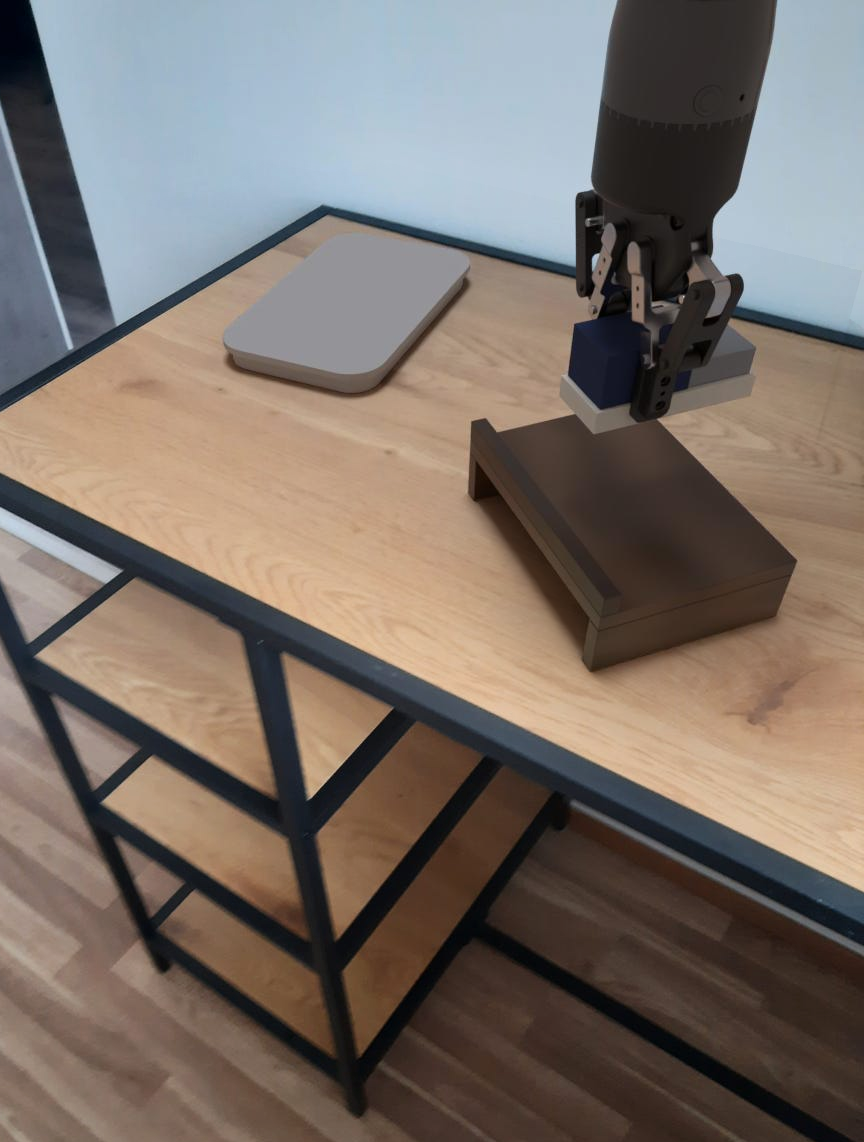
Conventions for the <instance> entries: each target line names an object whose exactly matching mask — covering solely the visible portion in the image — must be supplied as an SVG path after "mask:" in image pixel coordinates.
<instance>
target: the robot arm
mask: <svg viewBox="0 0 864 1142" xmlns="http://www.w3.org/2000/svg"><path fill="white" fill-rule="evenodd" d="M777 7H778V0H616V4H615V8H614V11H613V15H612V19H611V24H610V28H609V31H608V39H607V44H606V53H605V61H604V69H603V77H602V84H601V93H600V94H601V95H600V100H599V107H598V117H597V126H596V132H595V133H596V134H595V141H594V149H593V157H592V163H591V173H590V181H591V186H592V188H593V189H589V190H584V191H579V192H577V194H576V195H575V200H574V206H575V207H574V213H575V214H574V215H575V216H574V218H575V219H574V220H575V225H574V227H575V290H576V294H577V296H578V297H579V298H580V299H583V298H588V301H589V303H588V305H587V306H588V307H587V308H588V315H589V317H590V320H593V319H598V318H603V317H607V316H612V315H617V314H621V313H626V312H630V311H632V322H633V324H634V325H635V326H638V327H639V329H640V362H641V363H638V366H637V371H636V377H635V382H634V388H633V393H632V398H631V404H630V410H629V415H630V416H631V417H632V418H633V419H634V420H635V421H636V422H637V423H642V422H646V421H650V420H654V419H657V420H659V419H662V418H661V417H662V416H664V415H665V414H666V413H667V412H668V410H669V409H670V404H671V399H672V395H673V394H672V393H673V391H674V386H675V382H676V377H677V373H679V372H683V371H688V370H692V369H696V368H701V367H705V366H707V364H708V362H709V360H710V358H711V356H712V354H713V352H714V350H715V348H716V346H717V344H718V342H719V340H720V338H721V336H722V334H723V332H724V330H725V328H726V326H727V324H728V325H729V322H730V320H731V318H732V316H733V314H734V311H735V310H736V308H737V306H738V304H739V302H740V300H741V298H742V296H743V293H744V291H745V281H744V279H743V277H742V275H741V274H740V273H732V274H727V275H723V273H722V272H721V271H720V270H719V268H718V266H717V265H716V264H715V262H713V260H712V257H713V253H714V237H713V236H714V233H713V232H714V230H713V229H714V220H715V217H716V216H717V215H718V213H719V212H720V210H721V209H722V208H723V207H724V206H725V205H726V204H727V203H728V202H729V201H730V200H731V199H732V198H734V196H735V194H736V192H737V191H738V189H739V186H740V181H741V177H742V173H743V168H744V164H745V160H746V156H747V151H748V147H749V143H750V139H751V134H752V131H753V127H754V122H755V119H756V118H755V117H756V115H757V110H758V105H759V102H760V97H761V94H762V93H761V92H762V89H763V86H764V85H763V84H764V80H765V76H766V72H767V68H768V63H769V59H770V54H771V51H772V44H773V40H774V34H775V33H774V32H775V26H776V17H777ZM596 255H598V257H597V260H596V263H595V266H594V269H593V259H594V256H596ZM674 298H676V300H675V301H674V303H672V304H670V305H663V306H664V307H659V308H655V309H652V307H653V303H656V302H662V301H667V300H670V299H674ZM668 324H670V333H669V336H668V338H667V340H666V343H665V344H662V345H659V329H660V328H661V327H662V326H664V325H668ZM691 344H693V345H691ZM658 418H659V419H658Z"/></svg>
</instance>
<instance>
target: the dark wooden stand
mask: <svg viewBox="0 0 864 1142" xmlns="http://www.w3.org/2000/svg"><path fill="white" fill-rule="evenodd" d="M469 438H470V441H469V443H470V444H469V446H470V447H469V459H468V460H469V461H468V481H467V482H468V483H467V493H468V495H469V496H470V497H471V499H472V500H473V501H474V502H475V501H478V500H483V499H486V498H491V497H494V496H499V495H500V496H501V497H502V498H503V500H504V501H505V502H506V504H507V505H508V507H509V508H510V509H511V511H512V512H513V513H514V515H515V517H516V519H518V521H519V522H520V523H521V525H522V526H523V528H524V529H525V530H526V532H527V533H528V535H529V536H530V538H531V539H532V540H533V542H534V543H535V545H536V546H537V547H538V549H539V550H540V551H541V553H542V554H543V555H544V557H545V558H546V559H547V561H548V563H549V564H550V565H551V567H552V568H553V569H554V571H555V572H556V573H557V575H558V576H559V578H560V580H562V582H563V584H564V585H565V586H566V588H567V589H568V591H569V592H570V593H571V595H572V596H573V598H574V599H575V600H576V601H577V603H578V604H579V606H580V607H581V608H582V610H583V611H584V613H585V614H586V615H587V617H588V618H589V620H588V625H587V629H586V630H587V631H586V635H585V641H584V645H583V651H582V657H581V660H582V661H583V663H584V664H585V666H586V668H587V669H588V670H589V672H593V671H597V670H600V669H603V668H607V667H610V666H614V665H617V664H620V663H624V662H627V661H630V660H633V659H634V660H635V659H637V658H640V657H644V656H647V655H650V654H654V653H656V652H660V651H664V650H668V649H670V648H673V647H677V646H680V645H683V644H686V643H690V642H693V641H696V640H699V639H703V638H706V637H709V636H714V635H716V634H719V633H723V632H726V631H730V630H733V629H736V628H737V629H738V628H739V627H740V628H741V627H743V626H746V625H749V624H753V623H756V622H759V621H763V620H766V619H769V618H773V617H776V616H777V614H778V612H779V610H780V607H781V604H782V602H783V599H784V597H785V594H786V592H787V589H788V587H789V584H790V583H791V580H792V576H793V574H794V571H795V569H796V567H797V564H798V559H797V558H796V557H795V556H794V555H793V554H792V553H791V552H790V551H789V550H788V549H787V548H786V547H785V546H784V545H783V544H782V543H781V542H780V541H779V539H777V538H776V537H775V536H774V535H773V534H772V533H771V532H770V531H769V530H768V528H766V527H765V526H764V525H763V523H761V522H760V521H759V520H758V519H757V518H756V517H755V516H754V515H753V514H752V513H751V512H750V511H749V510H748V509H747V508H746V507H745V506H744V505H743V504H742V503H741V502H740V501H739V500H738V499H737V498H736V497H735V496H734V495H733V494H732V493H731V492H730V491H729V490H728V488H726V487H725V486H724V485H723V484H722V483H721V482H720V481H719V479H717V478H716V477H715V476H714V474H713V473H711V472H710V471H709V470H708V469H707V468H706V467H705V466H704V465H703V464H702V462H700V460H698V459H697V457H695V456H694V455H693V453H692V452H690V451H689V450H688V448H686V447H685V446H684V445H683V444H682V443H681V442H680V441H679V440H678V438H676V436H674V435H673V434H672V433H671V431H669V430H668V429H667V428H666V426H664V425H663V424H662V422H660V421H659V419H655V420H651V421H647V422H642V423H638V424H634V425H630V426H626V427H622V428H618V429H614V430H610V431H606V432H601V433H597V434H593V433H592V432H591V431H590V430H589V429H588V427H587V426H586V425H585V424H584V423H583V422H582V421H581V420H580V419H579V417H578V416H577V415H576V414H575V413H573V414H568V415H565V416H560V417H556V418H552V419H548V420H547V419H546V420H544V421H543V420H542V421H540V422H535V423H531V424H527V425H522V426H518V427H514V428H509V429H506V430H505V429H504V430H500V431H497V430H496V429H495V428H494V426H493V425H492V424H491V422H490V421H489V420H488V419H487V418H486V417H483V418H479V419H475V420H471V421H470V437H469Z"/></svg>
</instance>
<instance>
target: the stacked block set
mask: <svg viewBox="0 0 864 1142" xmlns="http://www.w3.org/2000/svg"><path fill="white" fill-rule="evenodd" d="M664 306H665V305H663V304H658V305H654V306H652V309H655V308H659V307H664ZM669 333H670V324H668V325H664V326H662V327H661V328H660V329H659V345H662V344H665V343H666V340H667V338H668V336H669ZM691 345H693V344H691ZM756 352H757V346H755V344H753V343H752V342H751V341H750V340H748V339H747V338H746V337H744V336H743V335H742V334H740V332H738V331H737V330H736V329H735V328H734V327H732V326H730V324H729V323H728V324H727V326H726V328H725V330H724V332H723V334H722V336H721V338H720V340H719V342H718V344H717V346H716V348H715V350H714V352H713V354H712V356H711V358H710V360H709V362H708V364H707V366H705V367H701V368H696V369H692V370H688V371H683V372H679V373H677V377H676V382H675V386H674V391H673V393H672V394H673V395H672V399H671V404H670V409H669V410H668V412H667V413H666V414H665V415H664V416H662V417H661V418H658V419H657V420H659V419H663V418H667V417H671V416H674V415H678V414H683V413H687V412H691V411H695V410H700V409H704V408H707V407H711V406H716V405H720V404H724V403H728V402H732V401H733V402H734V401H736V400H740V399H745V398H748V397H751V395H752V392H753V389H754V385H755V382H756V377H757V374H755V373H754V372H753V371H752V370H751V369H752V365H753V361H754V358H755V354H756ZM638 363H641V362H640V329H639V327H638V326H635V325H634V324H633V322H632V311H630V312H626V313H621V314H617V315H612V316H607V317H603V318H598V319H593V320H592V319H589V320H585V321H580V322H576V323H575V322H574V323H573V331H572V338H571V346H570V354H569V361H568V368H567V369H568V370H567V373H564V374H561V377H560V384H559V392H558V393H559V394H558V396H559V398H560V399H561V400H562V401H563V402H564V403H565V404H566V405H567V407H568V408H569V409H570V410H571V411H572V412H573V414H576V415H577V416H578V417H579V419H580V420H581V421H582V422H583V423H584V424H585V425H586V426H587V427H588V429H589V430H590V431H591V432H592V433H593V434H597V433H601V432H606V431H610V430H614V429H618V428H622V427H626V426H630V425H634V424H638V423H637V422H636V421H635V420H634V419H633V418H632V417H631V416H630V415H629V410H630V404H631V398H632V393H633V388H634V382H635V377H636V371H637V366H638ZM654 420H655V419H654ZM650 421H651V420H650ZM646 422H647V421H646Z"/></svg>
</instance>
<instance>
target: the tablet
mask: <svg viewBox="0 0 864 1142" xmlns="http://www.w3.org/2000/svg"><path fill="white" fill-rule="evenodd" d="M470 270H471V260H470V258H469V256H468V255H467V254H465V253H464V252H462V251H459V250H456V249H453V248H448V247H442V246H436V245H431V244H425V243H420V242H414V241H407V240H403V239H397V238H391V237H385V236H381V235H376V234H375V235H374V234H369V233H364V232H363V233H362V232H348V233H342V234H338V235H334V236H332V237H329V238H328V239H326V240H325V241H324V242H323V243H322V244H320V245H319V246H318V247H317V248H316V249H315V250H313V251H312V252H311V253H310V254H309V255H308V256H307V257H305V258H304V259H303V260H302V261H301V262H300V263H299V264H297V266H295V267H294V268H293V269H292V270H291V271H289V272H288V273H287V274H286V275H284V277H282V278H281V279H280V280H279V281H278V282H276V284H275V285H274V286H272V287H271V288H270V289H268V291H267V292H265V293H264V294H263V295H262V296H261V297H260V298H259V299H257V300H256V301H255V302H254V303H253V304H252V305H251V306H249V307H248V308H247V309H246V310H245V311H244V312H243V313H242V314H240V315H239V316H238V317H237V318H236V319H235V320H234V321H233V322H231V323H230V324H229V325H228V326H227V327H226V328H225V329H224V330H223V332H222V336H221V337H222V338H221V339H222V345H223V348H224V349H225V350H226V351H227V352H228V353H229V354H231V355H232V359H233V362H234V364H235V365H236V366H237V367H239V368H242V369H244V370H248V371H250V372H251V371H252V372H256V373H259V374H265V375H267V376H268V375H269V376H273V377H278V378H281V379H286V380H289V381H292V382H293V381H294V382H297V383H302V384H306V385H310V386H315V387H319V388H323V389H327V390H332V391H334V392H335V391H336V392H340V393H345V394H358V393H363V392H367V391H370V390H372V389H374V388H375V387H377V386H378V385H379V384H380V383H381V382H382V380H384V378H385V377H386V376H387V375H388V374H389V372H390V371H391V370H392V369H393V368H394V367H395V366H396V364H397V363H398V362H399V361H400V360H401V359H402V357H403V356H404V355H405V354H406V353H407V351H408V350H409V349H410V348H411V347H412V346H413V344H414V343H415V342H416V341H417V340H418V339H419V338H420V336H421V335H422V334H423V333H424V332H425V331H426V330H427V328H429V326H430V325H431V324H432V323H433V321H434V320H435V319H436V318H437V317H438V316H439V314H440V313H441V312H442V311H443V310H444V309H445V307H446V306H447V305H448V304H449V303H450V302H451V301H452V299H453V298H454V297H455V296H456V295H457V293H458V292H459V291H460V290H461V289H462V288H463V286H464V279H465V278H466V277H467V276H468V274H469V273H470Z"/></svg>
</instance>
